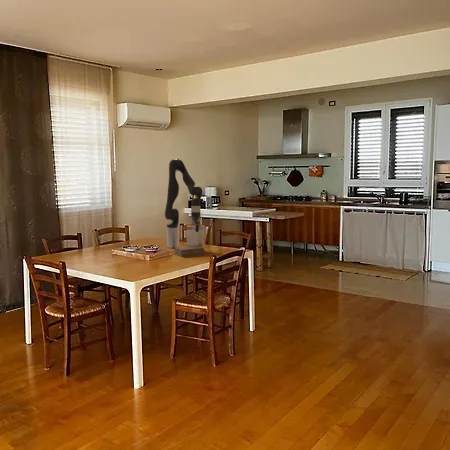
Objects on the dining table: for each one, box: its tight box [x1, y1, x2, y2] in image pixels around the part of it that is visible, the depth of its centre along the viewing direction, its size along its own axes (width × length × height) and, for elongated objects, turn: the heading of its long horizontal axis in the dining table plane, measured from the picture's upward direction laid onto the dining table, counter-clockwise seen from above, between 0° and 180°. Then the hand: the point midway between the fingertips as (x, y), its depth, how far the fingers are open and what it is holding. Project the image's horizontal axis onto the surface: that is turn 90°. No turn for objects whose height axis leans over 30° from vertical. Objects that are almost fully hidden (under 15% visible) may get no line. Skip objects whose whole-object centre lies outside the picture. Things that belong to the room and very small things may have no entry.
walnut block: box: [174, 245, 205, 258], centre depth 376 cm, size 14×19×6 cm
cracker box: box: [186, 224, 206, 251], centre depth 390 cm, size 14×6×21 cm, turn 84°
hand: (195, 231), depth 390 cm, fingers closed on cracker box, 7 cm apart
